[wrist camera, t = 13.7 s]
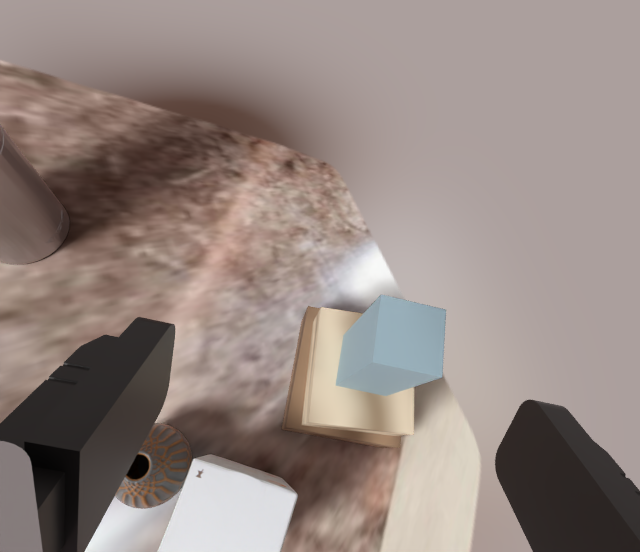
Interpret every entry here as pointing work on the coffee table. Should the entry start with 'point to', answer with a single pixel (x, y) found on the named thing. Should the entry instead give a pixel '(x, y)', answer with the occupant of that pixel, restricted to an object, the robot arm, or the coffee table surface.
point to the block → (393, 347)
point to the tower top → (344, 403)
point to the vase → (157, 469)
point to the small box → (229, 509)
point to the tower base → (297, 395)
